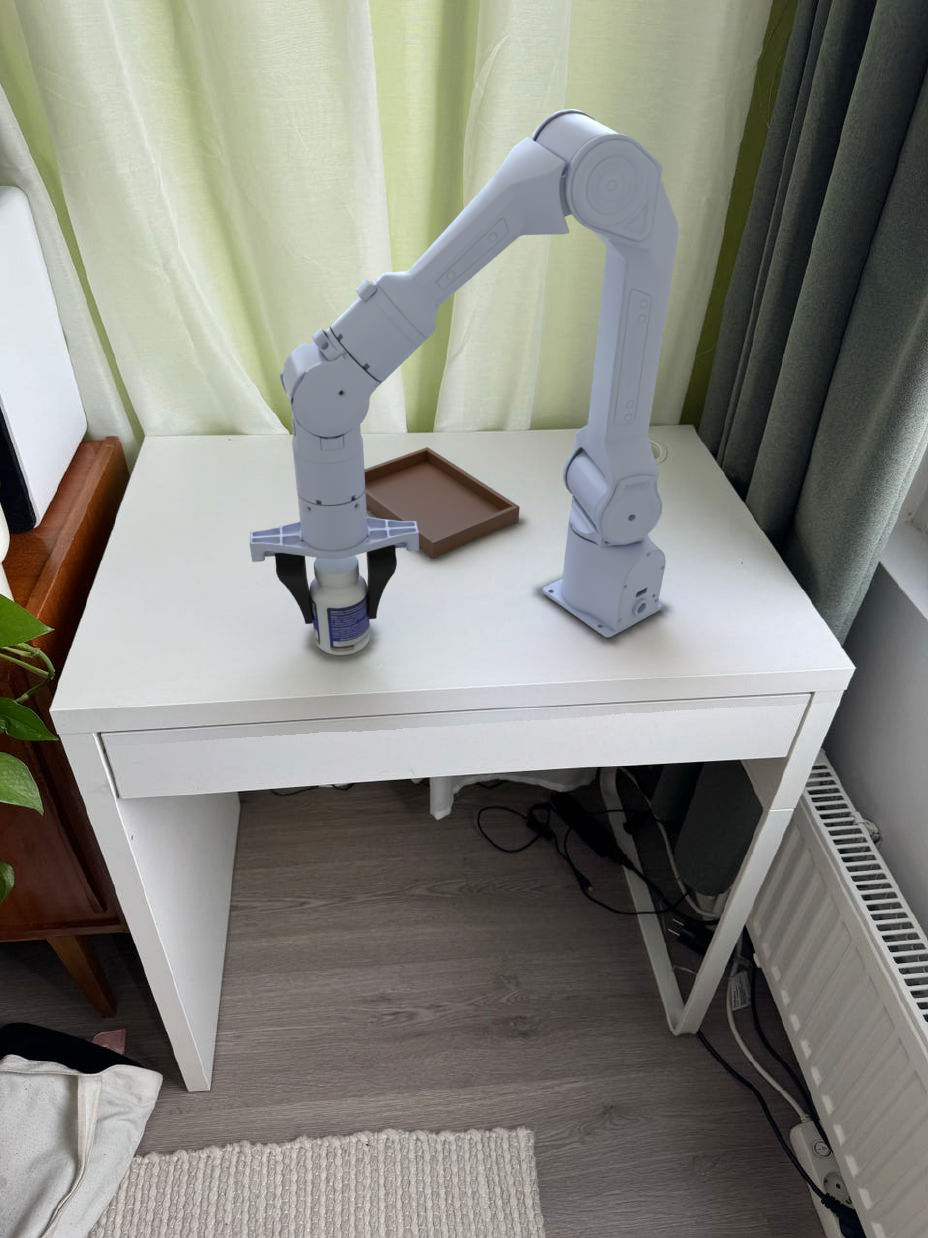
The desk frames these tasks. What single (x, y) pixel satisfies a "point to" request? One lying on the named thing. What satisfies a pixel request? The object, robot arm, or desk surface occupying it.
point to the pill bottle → (339, 606)
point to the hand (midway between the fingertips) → (341, 614)
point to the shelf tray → (436, 500)
